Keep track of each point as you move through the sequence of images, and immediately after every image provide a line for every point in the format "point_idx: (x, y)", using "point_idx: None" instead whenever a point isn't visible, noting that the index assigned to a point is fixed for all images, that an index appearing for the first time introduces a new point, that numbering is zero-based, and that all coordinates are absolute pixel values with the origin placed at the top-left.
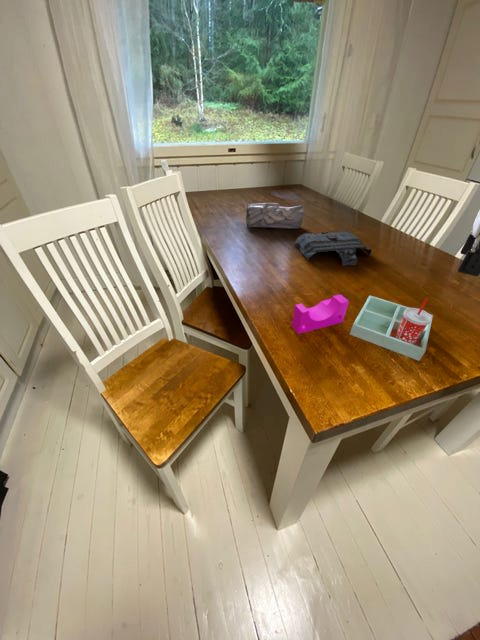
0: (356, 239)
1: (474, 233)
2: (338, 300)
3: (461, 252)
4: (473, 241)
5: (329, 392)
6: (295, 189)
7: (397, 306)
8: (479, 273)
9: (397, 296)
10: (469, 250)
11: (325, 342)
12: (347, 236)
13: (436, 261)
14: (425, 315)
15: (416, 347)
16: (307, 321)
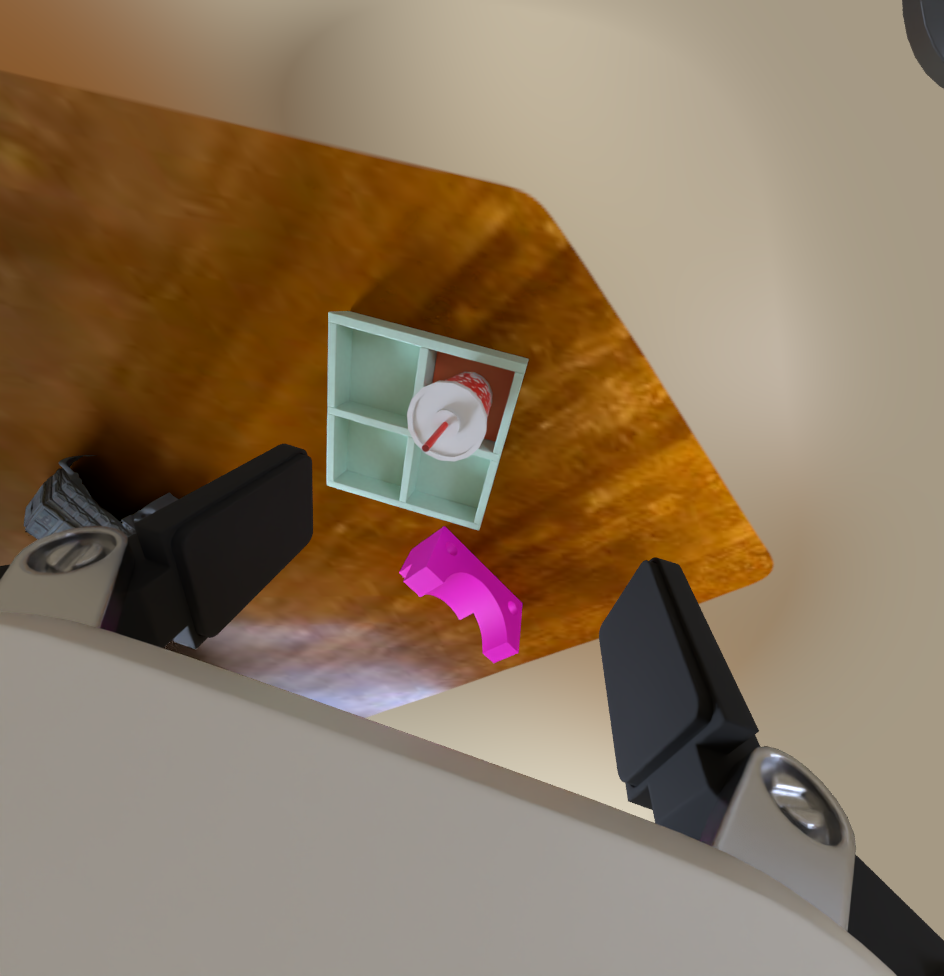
0: (51, 508)
1: None
2: (434, 587)
3: (307, 541)
4: (236, 579)
5: (682, 553)
6: None
7: (336, 414)
8: (679, 574)
9: (252, 386)
10: (293, 529)
11: (531, 558)
12: (55, 530)
13: None
14: (435, 399)
15: (518, 388)
16: (508, 615)
